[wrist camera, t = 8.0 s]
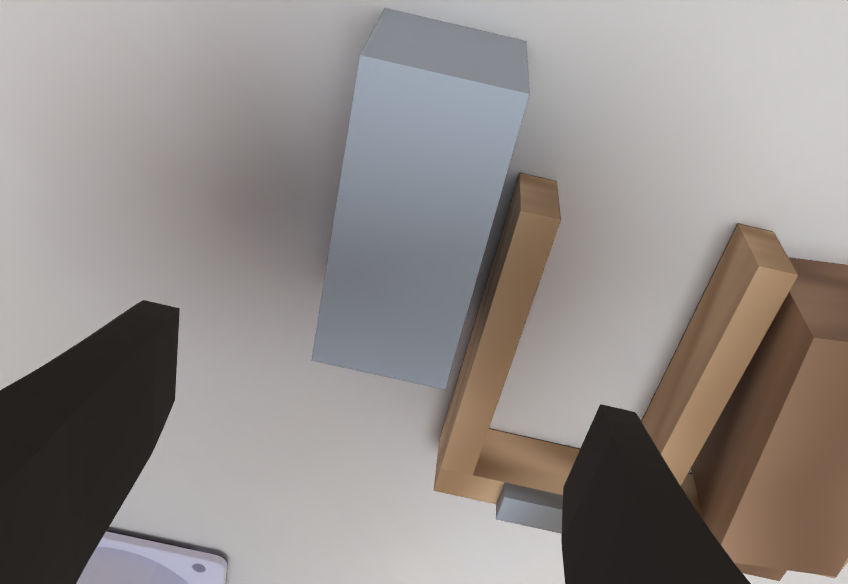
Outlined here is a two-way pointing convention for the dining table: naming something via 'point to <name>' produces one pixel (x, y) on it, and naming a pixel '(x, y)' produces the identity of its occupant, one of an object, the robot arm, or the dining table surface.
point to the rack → (672, 403)
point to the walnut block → (786, 437)
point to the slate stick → (418, 194)
